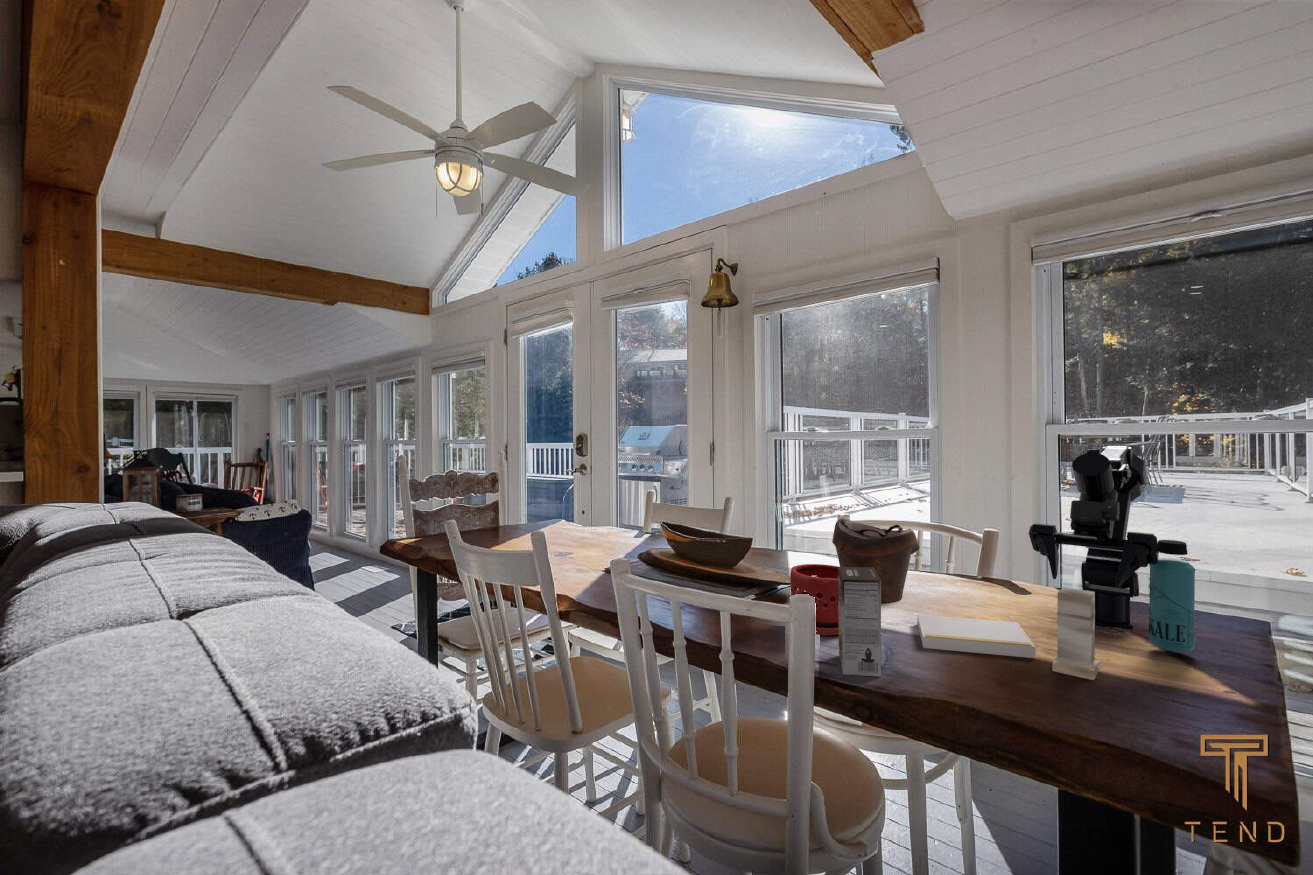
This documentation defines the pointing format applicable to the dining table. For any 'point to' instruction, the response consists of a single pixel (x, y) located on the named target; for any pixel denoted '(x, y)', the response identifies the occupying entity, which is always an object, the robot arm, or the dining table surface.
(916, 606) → the dining table surface
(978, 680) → the dining table surface
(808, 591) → the plant pot
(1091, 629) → the white stepped pillar
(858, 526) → the brown tapered planter
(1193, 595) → the beverage bottle
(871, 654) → the coffee box
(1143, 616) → the dining table surface
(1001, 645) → the white rectangular slab
